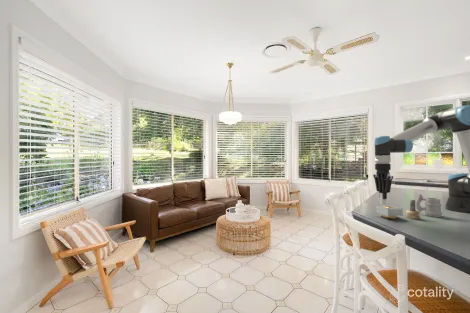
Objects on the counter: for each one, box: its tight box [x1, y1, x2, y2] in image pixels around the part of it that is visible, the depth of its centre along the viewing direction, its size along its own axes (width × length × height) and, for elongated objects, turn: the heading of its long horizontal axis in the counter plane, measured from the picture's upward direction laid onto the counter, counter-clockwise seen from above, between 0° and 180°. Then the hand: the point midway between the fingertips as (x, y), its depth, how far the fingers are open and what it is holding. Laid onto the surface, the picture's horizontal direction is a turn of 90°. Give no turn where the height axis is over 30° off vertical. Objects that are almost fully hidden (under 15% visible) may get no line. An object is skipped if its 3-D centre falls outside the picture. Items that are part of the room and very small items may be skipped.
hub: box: [381, 207, 398, 220], centre depth 132 cm, size 7×7×6 cm
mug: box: [415, 193, 443, 218], centre depth 136 cm, size 8×12×12 cm, turn 44°
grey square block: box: [375, 204, 404, 217], centre depth 132 cm, size 9×9×4 cm
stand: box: [405, 199, 421, 220], centre depth 130 cm, size 6×6×10 cm
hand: (383, 204), depth 132 cm, fingers closed
